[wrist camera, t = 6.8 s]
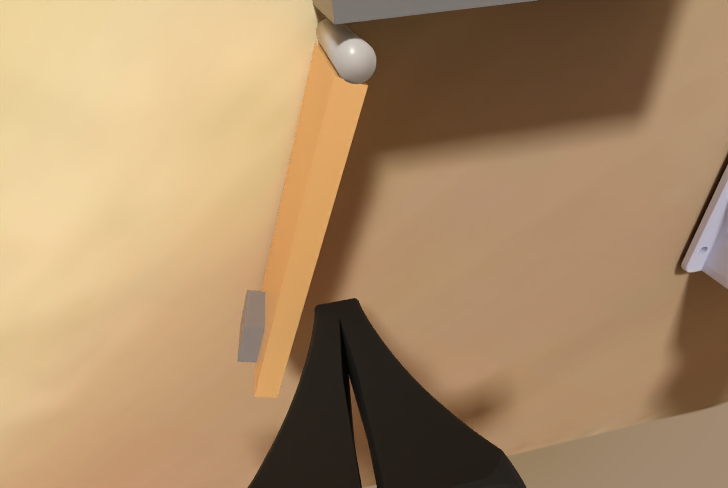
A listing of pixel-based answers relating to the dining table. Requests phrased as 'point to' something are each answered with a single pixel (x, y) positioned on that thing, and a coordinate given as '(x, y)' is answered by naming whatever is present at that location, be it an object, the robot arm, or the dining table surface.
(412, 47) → the dining table surface
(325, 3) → the grey box with knob
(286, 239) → the side door
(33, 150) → the dining table surface
